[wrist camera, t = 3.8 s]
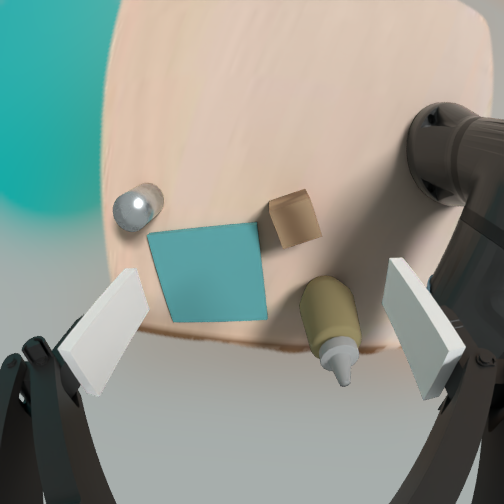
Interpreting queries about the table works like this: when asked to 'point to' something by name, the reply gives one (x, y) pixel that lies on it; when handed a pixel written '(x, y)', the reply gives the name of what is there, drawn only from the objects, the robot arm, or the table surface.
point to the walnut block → (294, 219)
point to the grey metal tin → (138, 206)
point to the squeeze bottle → (331, 325)
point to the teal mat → (211, 273)
